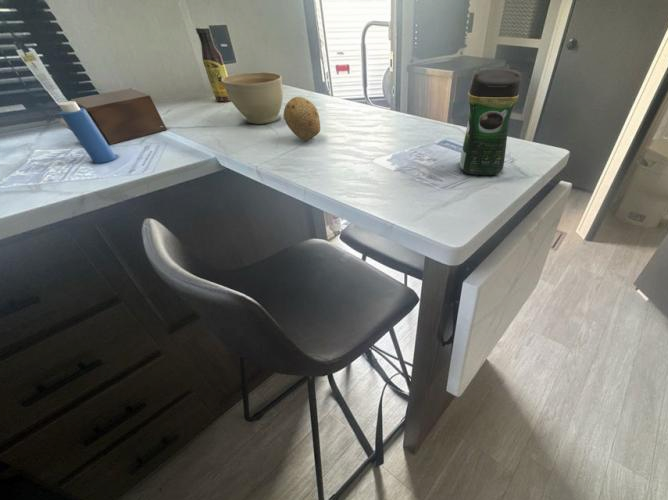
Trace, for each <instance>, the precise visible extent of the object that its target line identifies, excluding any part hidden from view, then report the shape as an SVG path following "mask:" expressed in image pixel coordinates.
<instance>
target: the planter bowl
mask: <svg viewBox="0 0 668 500" xmlns="http://www.w3.org/2000/svg"><path fill="white" fill-rule="evenodd" d="M221 81H222V83H223V85H224V87H225V89H226V92H227V94H228V96H229V98H230V100H231V101H230V102H231V103H232V105H233V106H234V107H235V108H236V109H237V111H238V112H239V113H240V114H241V115H242V116H244V117H245V120H246V121H247V122H248V123H250V124H257V125H259V124H260V125H261V124H269V123H270V124H271V123H273V122H276V121H278V120H279V119H280V111H281V109H282V105H283V101H284V88H283V83H282V82H283V78H282V74H279V73H275V72H265V71H255V72H242V73H234V74H230V75H228V76H227V77H224V78H222V80H221Z"/></svg>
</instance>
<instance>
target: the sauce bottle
mask: <svg viewBox="0 0 668 500" xmlns="http://www.w3.org/2000/svg"><path fill="white" fill-rule="evenodd" d="M195 31H196V34H197V35H198V38H199V40H200V45H201V46H200V47H201V55H202V63H203V66H204V69H205V73H206V75H207V78H208V81H209V84H210V87H211V89H212V92H213V95H214V97H215V100H216V101H218V102H221V103H223V102H225V103H226V102H227V103H228V102H232V101H231V100H230V98H229V96H228V94H227V92H226V89H225V87H224V85H223V83H222V81H221V80H222V78H224V77H227V76H229V75H228V71H227V68H226V65H225V63H224V59H223V56H222V54H221V52H220V50H218V48H217V47H216V45H215V42H214V39H213V37H212V31H211V28H210V27H209V26H195Z"/></svg>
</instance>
